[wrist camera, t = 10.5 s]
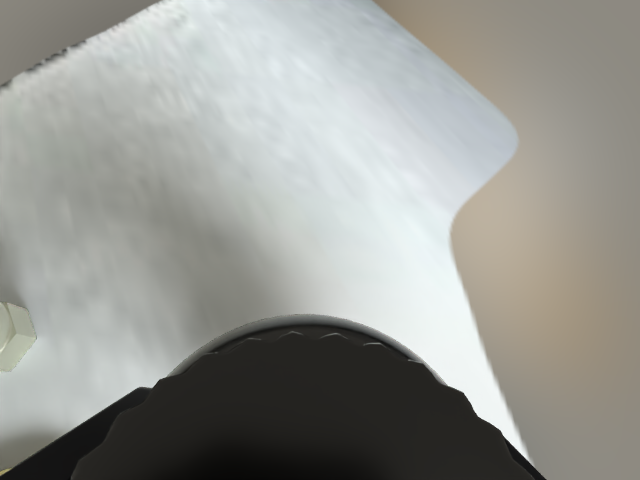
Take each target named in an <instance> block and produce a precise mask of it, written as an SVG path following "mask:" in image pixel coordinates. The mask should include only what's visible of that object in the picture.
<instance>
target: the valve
mask: <svg viewBox="0 0 640 480" xmlns="http://www.w3.org/2000/svg"><path fill="white" fill-rule="evenodd" d="M36 339H37V338H36V333H35V330H34V327H33V324H32V321H31V318H30V315H29V313H28V311H27V309H25V308H22V307H19V306H16V305H13V304H10V303H7V302H3V303H1V302H0V372H9V371H11V370H12V369H13V368H14V367H15V366H16V365H17V363H18V362H19V361H20V360H21V359H22V357H23V356H24V355H25V354H26V352H27V351H28V350H29V349H30V347H31V346H32V345H33V344H34V342H35V340H36Z"/></svg>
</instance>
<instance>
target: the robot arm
mask: <svg viewBox="0 0 640 480" xmlns="http://www.w3.org/2000/svg"><path fill="white" fill-rule="evenodd" d="M151 389H152V388H147V387H139V388H137V389H135V390H133V391H132V392H130V393H129V394H127V395H126V396H124V397H123V398H121V399H119V400H118V401H116V402H115V403H113V404H112V405H110V406H108V407H107V408H105V409H104V410H102V411H101V412H99V413H98V414H96V415H94V416H93V417H91V418H90V419H88V420H87V421H85V422H83V423H82V424H80V425H79V426H77V427H76V428H74V429H73V430H71V431H69V432H68V433H66V434H65V435H63V436H62V437H60V438H58V439H57V440H55V441H54V442H52V443H51V444H49V445H48V446H46V447H44V448H43V449H41V450H40V451H38V452H37V453H35V454H33V455H32V456H30V457H29V458H27V459H26V460H24V461H23V462H21V463H19V464H18V465H16V466H15V467H13V468H12V469H10V470H8V471H7V472H5V473H4V474H2V475H1V476H0V480H71V476H72V474H73V471H74V469H75V467H76V464H77V462H78V460H80V459H81V458H82V457H83V456H84V455H86V454H87V453H88V452H89V451H91V450H92V449H94V448H95V447H97V446H98V445H99V444H101V443H102V442H103V440H104V439H105V437H106V435H107V434H108V431H109V428H110V426H111V425H112V423H113V422H114V420H115V418H116V417H117V415H118V414H120V413H122V412H124V411H125V410H127V409H129V408H131V407H134V406H136V405H138V404H140V403H142V402H143V401H144V399H145V398H146V396H147V395H148V394H149V392H150V391H151ZM503 437H504V436H503ZM504 439H505V441H506V443H507V445H508V449H509V451H510V454H511V456H512V458H513V459H514V460H515V461H516V462H517V463H519V464H520V465H521V466H522V467H524V468H525V469H526V470H527V471H528V472H529V473H530V474H531V475H532V476H533V477H534V478H535V480H546V479H545V478H544V477H543V476H542V475H541V474H540V473H539V472H538V471H537V470H536V469H535V468H534V467H533V466H532V465H531V464H530V463H529V462H528V461H527V460H526V459H525V458H524V457H523V456H522V455H521V454H520V453H519V452H518V451H517V449H516V448H515V447H514V446H513V445H512V444H511V443H510V442H509V441H508V440H507V439H506V438H505V437H504Z"/></svg>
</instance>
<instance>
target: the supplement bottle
mask: <svg viewBox="0 0 640 480" xmlns="http://www.w3.org/2000/svg"><path fill="white" fill-rule="evenodd" d="M71 480H535V478H534V477H533V476H532V475H531V474H530V473H529V472H528V471H527V470H526V469H525V468H524V467H522V466H521V465H520V464H519V463H517V462H516V461H515V460H514V459H513V458H512V456H511V454H510V451H509V449H508V445H507V443H506V441H505V439H504V437H503V435H502V433H501V431H500V430H499V429H497V428H496V427H495V426H493V425H492V424H490V423H489V422H487V421H485V420H483V419H481V418H479V417H478V416H477V414H476V413H475V411H474V410H473V408H472V405H471V403H470V402H469V400H468V399H467V397H466V396H465V395H464V393H463V392H461V391H459V390H457V389H455V388H452V387H450V386H448V385H447V384H446V383H445V382H444V381H443V380H442V378H441V377H440V376H439V375H438V374H437V373H436V372H435V371H434V370H433V369H432V368H431V367H430V366H429V365H428V364H427V363H426V362H424V361H423V360H422V359H421V358H420V357H419V356H417V355H416V354H415V353H413V352H412V351H411V350H410V349H408V348H407V347H405V346H404V345H402V344H401V343H399V342H398V341H396V340H395V339H393V338H391V337H389V336H387V335H385V334H383V333H382V332H380V331H378V330H375V329H373V328H370V327H368V326H365V325H363V324H360V323H357V322H353V321H350V320H347V319H342V318H337V317H332V316H325V315H315V314H295V315H285V316H277V317H272V318H267V319H262V320H259V321H256V322H252V323H249V324H246V325H244V326H241V327H239V328H236V329H234V330H231V331H229V332H227V333H225V334H223V335H221V336H219V337H217V338H216V339H214V340H212V341H211V342H209V343H207V344H206V345H204V346H203V347H201V348H200V349H198V350H197V351H196V352H194V353H193V354H192V355H190V356H189V357H188V358H186V359H185V360H184V361H183V362H182V363H181V364H179V365H178V366H177V367H176V368H175V369H174V370H173V371H172V372H171V373H170V374H169V375H168V376H167V377H166V378H163V379H160V380H159V381H158V382H157V383H156V385H155V386H154V387H153V388H152V389H151V391H150V392H149V394H148V395H147V396H146V398H145V399H144V401H143V402H142V403H140V404H138V405H136V406H134V407H131V408H129V409H127V410H125V411H124V412H122V413H120V414H118V415H117V417H116V418H115V420H114V422H113V423H112V425H111V426H110V428H109V431H108V434H107V435H106V437H105V439H104V440H103V442H102V443H101V444H99V445H98V446H97V447H95V448H94V449H92V450H91V451H89V452H88V453H87V454H86V455H84V456H83V457H82V458H81V459H80V460H78V462H77V464H76V467H75V469H74V471H73V474H72V476H71Z"/></svg>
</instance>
